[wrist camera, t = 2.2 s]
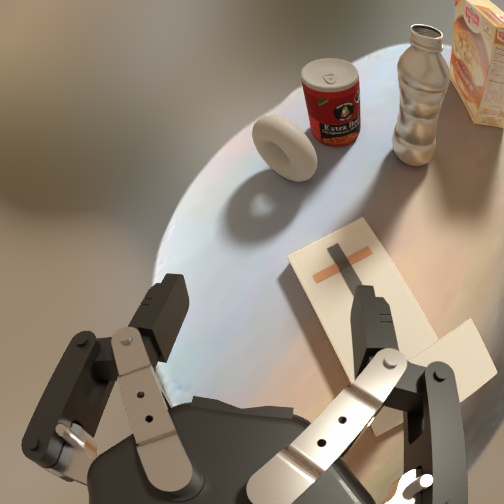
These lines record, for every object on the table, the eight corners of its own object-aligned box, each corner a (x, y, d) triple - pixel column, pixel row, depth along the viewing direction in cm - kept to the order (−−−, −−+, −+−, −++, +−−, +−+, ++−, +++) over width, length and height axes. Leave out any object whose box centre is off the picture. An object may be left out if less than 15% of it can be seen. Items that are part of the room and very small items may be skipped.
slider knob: (418, 348, 26) (470, 318, 15) (434, 381, 24) (497, 372, 13) (375, 374, 27) (404, 363, 15) (392, 408, 25) (432, 421, 13)
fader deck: (362, 225, 36) (362, 216, 34) (453, 385, 25) (460, 384, 24) (289, 262, 37) (286, 255, 35) (374, 433, 26) (376, 436, 24)
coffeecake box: (446, 75, 44) (454, -10, 27) (476, 79, 42) (488, -2, 25) (472, 124, 38) (495, 25, 21) (504, 129, 36) (533, 37, 19)
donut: (326, 182, 40) (319, 128, 31) (309, 199, 40) (298, 146, 31) (273, 151, 45) (257, 100, 36) (257, 165, 44) (237, 115, 36)
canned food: (323, 154, 42) (313, 94, 33) (304, 121, 46) (291, 65, 36) (369, 140, 41) (370, 80, 32) (347, 109, 45) (341, 53, 36)
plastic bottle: (432, 142, 38) (450, 25, 21) (433, 176, 36) (461, 51, 19) (391, 135, 41) (395, 15, 23) (389, 168, 38) (397, 38, 21)
